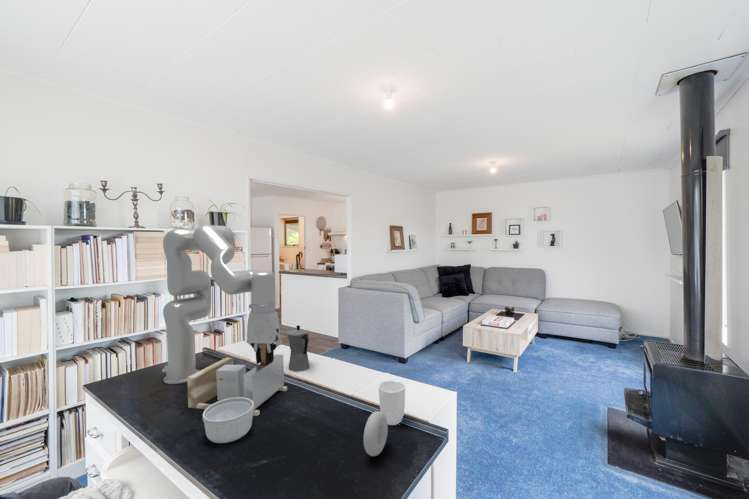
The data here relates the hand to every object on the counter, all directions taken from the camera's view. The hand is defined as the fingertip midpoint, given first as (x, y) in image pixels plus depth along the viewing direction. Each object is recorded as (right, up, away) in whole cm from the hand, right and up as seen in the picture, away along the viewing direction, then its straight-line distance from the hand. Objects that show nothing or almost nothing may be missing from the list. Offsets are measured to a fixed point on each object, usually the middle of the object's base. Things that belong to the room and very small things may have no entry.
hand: (264, 362), depth 109 cm
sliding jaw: (0, -12, 0) cm, 12 cm away
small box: (-12, -14, +4) cm, 19 cm away
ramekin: (-4, -14, -17) cm, 23 cm away
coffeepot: (+5, -13, +29) cm, 32 cm away
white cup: (+42, -13, -12) cm, 46 cm away
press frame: (-9, -13, +3) cm, 16 cm away
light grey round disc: (+37, -13, -28) cm, 48 cm away
